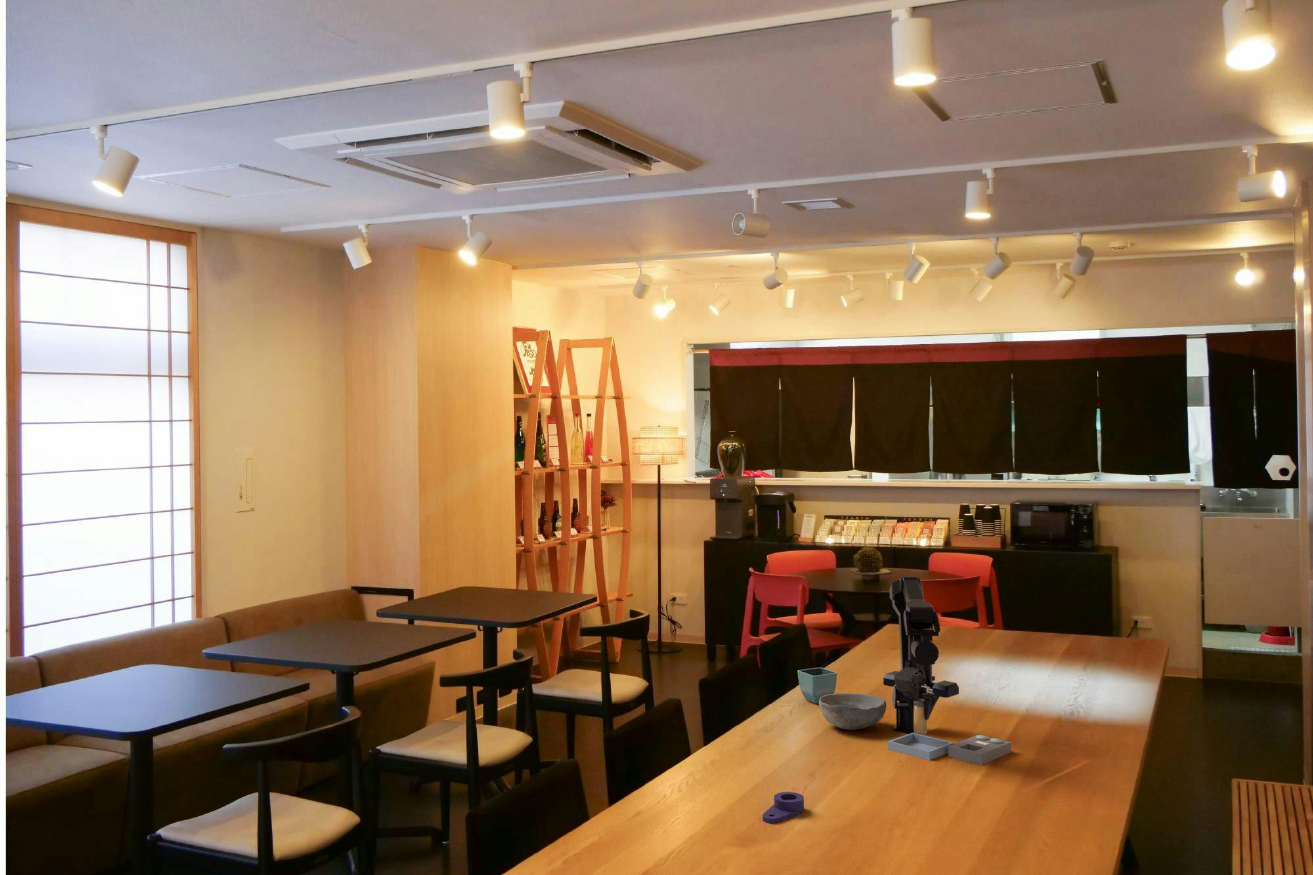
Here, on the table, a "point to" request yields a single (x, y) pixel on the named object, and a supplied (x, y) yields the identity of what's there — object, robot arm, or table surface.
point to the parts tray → (919, 746)
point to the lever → (784, 807)
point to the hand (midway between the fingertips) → (920, 718)
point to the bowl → (852, 710)
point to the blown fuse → (919, 717)
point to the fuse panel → (979, 749)
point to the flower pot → (816, 683)
